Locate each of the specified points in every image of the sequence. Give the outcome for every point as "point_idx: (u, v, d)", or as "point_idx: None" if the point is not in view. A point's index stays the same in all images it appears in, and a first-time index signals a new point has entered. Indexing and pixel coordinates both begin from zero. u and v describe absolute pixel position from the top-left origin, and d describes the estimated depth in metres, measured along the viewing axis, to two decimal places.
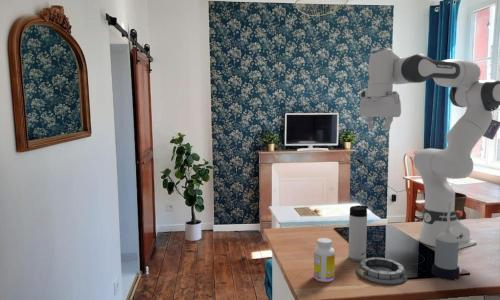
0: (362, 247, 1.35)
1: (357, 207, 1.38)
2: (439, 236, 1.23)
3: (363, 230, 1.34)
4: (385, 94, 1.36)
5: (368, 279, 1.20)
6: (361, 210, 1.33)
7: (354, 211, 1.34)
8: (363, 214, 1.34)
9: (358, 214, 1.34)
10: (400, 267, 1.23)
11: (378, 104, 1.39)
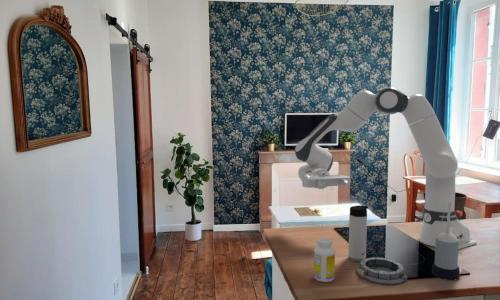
0: (362, 247, 1.35)
1: (357, 207, 1.38)
2: (439, 236, 1.23)
3: (363, 230, 1.34)
4: None
5: (368, 279, 1.20)
6: (361, 210, 1.33)
7: (354, 211, 1.34)
8: (363, 214, 1.34)
9: (358, 214, 1.34)
10: (400, 267, 1.23)
11: (328, 176, 1.60)
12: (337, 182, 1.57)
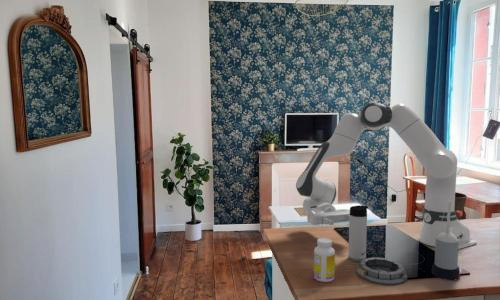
0: (362, 247, 1.35)
1: (357, 207, 1.38)
2: (439, 236, 1.23)
3: (363, 230, 1.34)
4: None
5: (368, 279, 1.20)
6: (361, 210, 1.33)
7: (354, 211, 1.34)
8: (363, 214, 1.34)
9: (358, 214, 1.34)
10: (400, 267, 1.23)
11: (333, 212, 1.56)
12: (343, 218, 1.53)
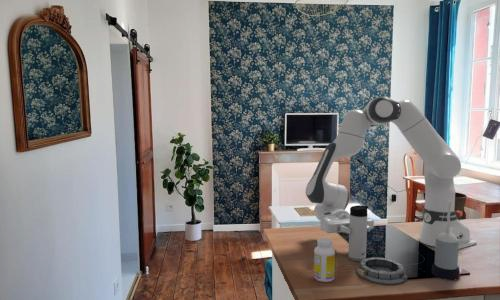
0: (362, 247, 1.35)
1: (357, 207, 1.38)
2: (439, 236, 1.23)
3: (363, 230, 1.34)
4: None
5: (368, 279, 1.20)
6: (361, 210, 1.33)
7: (354, 211, 1.34)
8: (363, 214, 1.34)
9: (358, 213, 1.34)
10: (400, 267, 1.23)
11: (349, 219, 1.45)
12: None
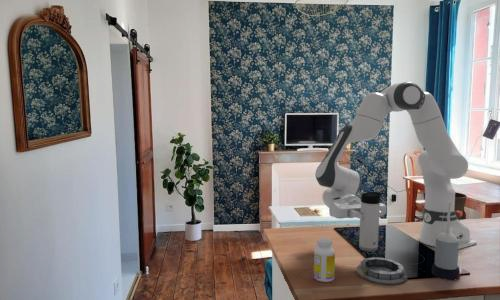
0: (374, 236, 1.27)
1: (369, 194, 1.29)
2: (439, 236, 1.23)
3: (375, 218, 1.26)
4: None
5: (368, 279, 1.20)
6: (373, 197, 1.25)
7: (366, 198, 1.26)
8: (376, 201, 1.25)
9: (370, 200, 1.25)
10: (400, 267, 1.23)
11: (359, 204, 1.37)
12: None
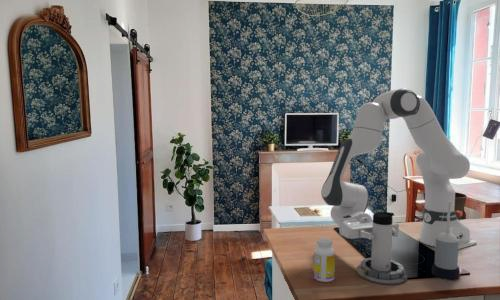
0: (386, 259, 1.22)
1: (381, 214, 1.25)
2: (439, 236, 1.23)
3: (388, 240, 1.21)
4: None
5: (368, 279, 1.20)
6: (386, 217, 1.20)
7: (378, 218, 1.21)
8: (388, 222, 1.21)
9: (383, 221, 1.20)
10: (400, 267, 1.23)
11: (371, 223, 1.32)
12: None
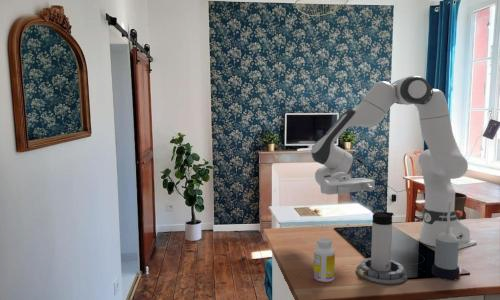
0: (386, 259, 1.22)
1: (381, 214, 1.25)
2: (439, 236, 1.23)
3: (388, 240, 1.21)
4: None
5: (368, 279, 1.20)
6: (386, 217, 1.20)
7: (378, 218, 1.21)
8: (388, 222, 1.21)
9: (382, 221, 1.21)
10: (400, 267, 1.23)
11: (349, 180, 1.44)
12: (360, 187, 1.41)
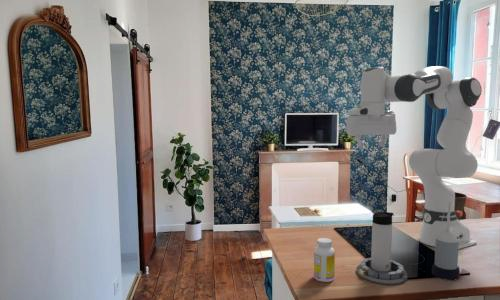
0: (386, 259, 1.22)
1: (381, 214, 1.25)
2: (439, 236, 1.23)
3: (388, 240, 1.21)
4: None
5: (368, 279, 1.20)
6: (386, 217, 1.20)
7: (378, 218, 1.21)
8: (388, 222, 1.21)
9: (382, 221, 1.21)
10: (400, 267, 1.23)
11: (377, 122, 1.39)
12: None
